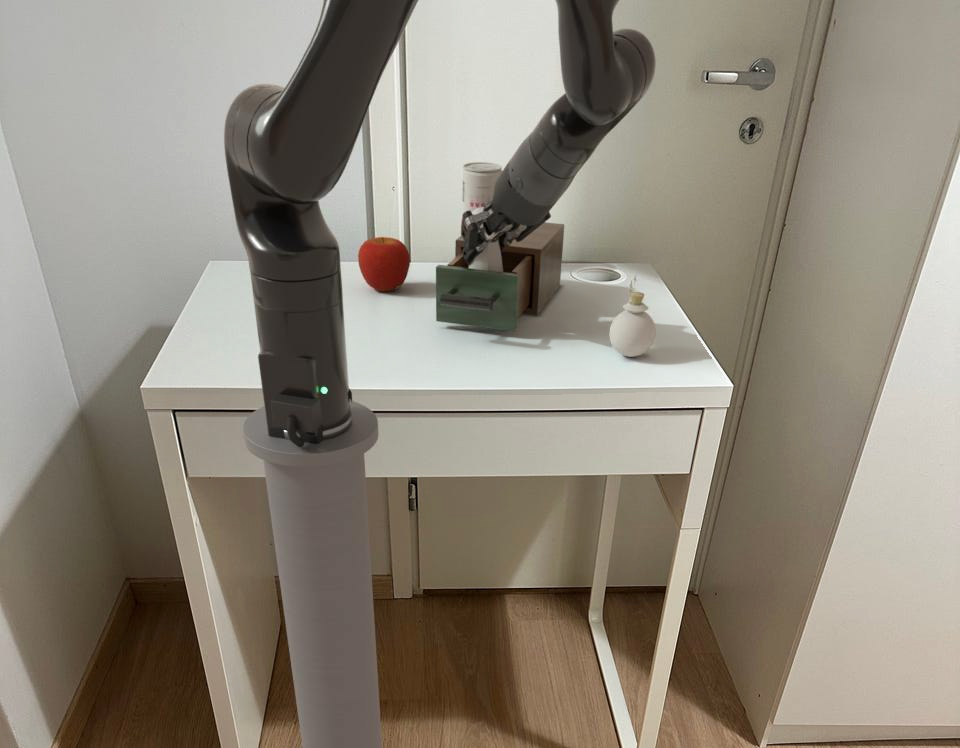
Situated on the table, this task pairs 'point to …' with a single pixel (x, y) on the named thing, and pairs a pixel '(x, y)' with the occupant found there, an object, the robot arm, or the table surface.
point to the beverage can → (478, 185)
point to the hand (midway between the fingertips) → (477, 256)
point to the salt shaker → (488, 254)
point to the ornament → (633, 327)
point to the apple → (384, 263)
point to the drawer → (485, 292)
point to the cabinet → (538, 261)
